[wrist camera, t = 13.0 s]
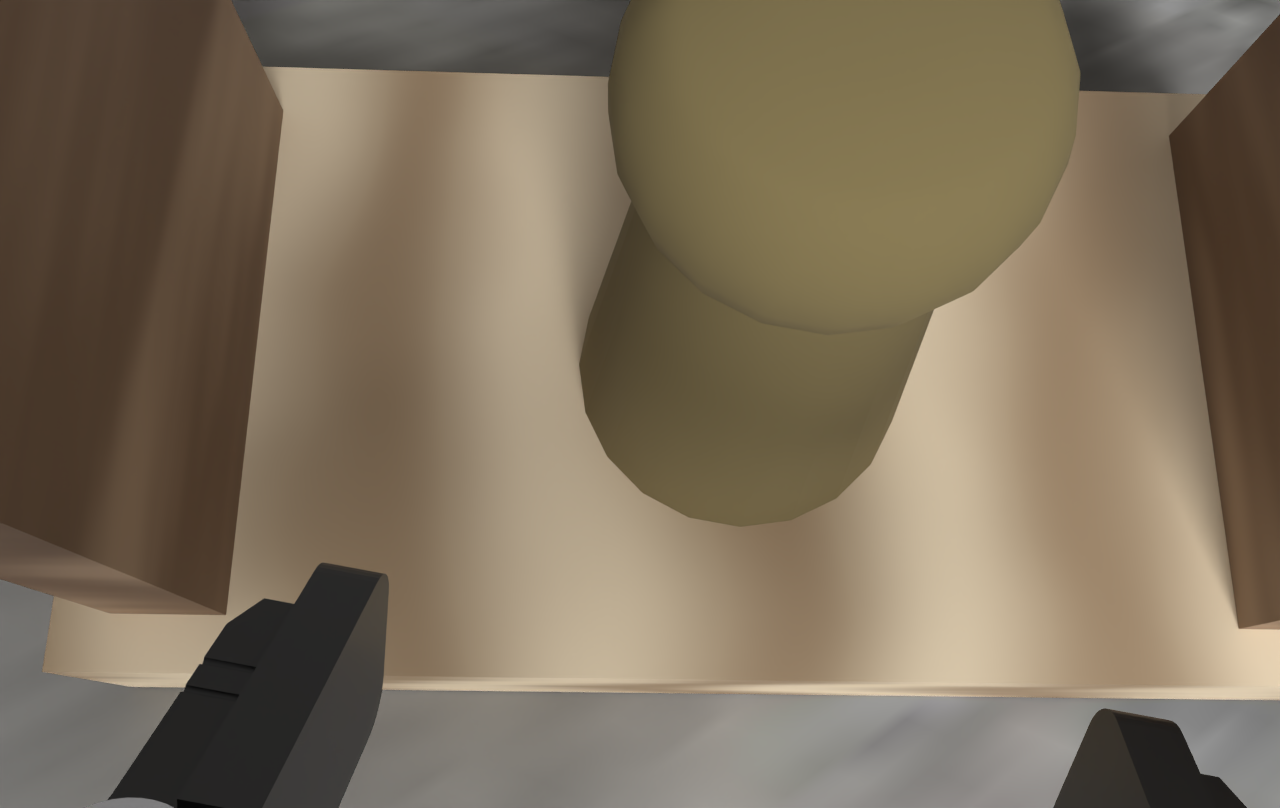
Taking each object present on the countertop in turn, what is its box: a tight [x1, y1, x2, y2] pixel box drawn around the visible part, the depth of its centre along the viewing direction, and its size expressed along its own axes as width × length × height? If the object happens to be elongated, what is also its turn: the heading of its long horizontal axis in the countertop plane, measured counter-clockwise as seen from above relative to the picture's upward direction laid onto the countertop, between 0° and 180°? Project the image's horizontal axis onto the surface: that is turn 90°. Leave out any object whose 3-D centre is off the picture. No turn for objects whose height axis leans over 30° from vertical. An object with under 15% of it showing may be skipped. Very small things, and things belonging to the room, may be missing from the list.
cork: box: [579, 0, 1081, 527], centre depth 17 cm, size 6×6×11 cm
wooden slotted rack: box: [0, 0, 1280, 700], centre depth 19 cm, size 24×12×14 cm, turn 89°
